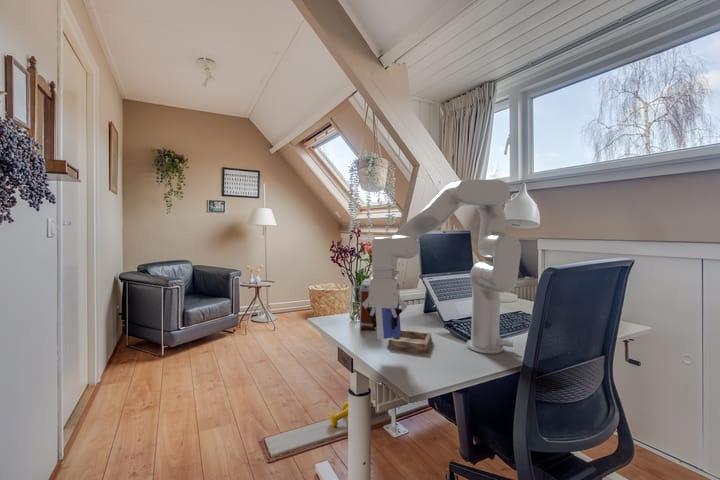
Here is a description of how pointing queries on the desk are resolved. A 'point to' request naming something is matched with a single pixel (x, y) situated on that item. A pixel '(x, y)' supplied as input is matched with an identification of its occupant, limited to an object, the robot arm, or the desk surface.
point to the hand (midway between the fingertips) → (384, 326)
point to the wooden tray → (411, 342)
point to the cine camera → (364, 314)
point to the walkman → (386, 323)
